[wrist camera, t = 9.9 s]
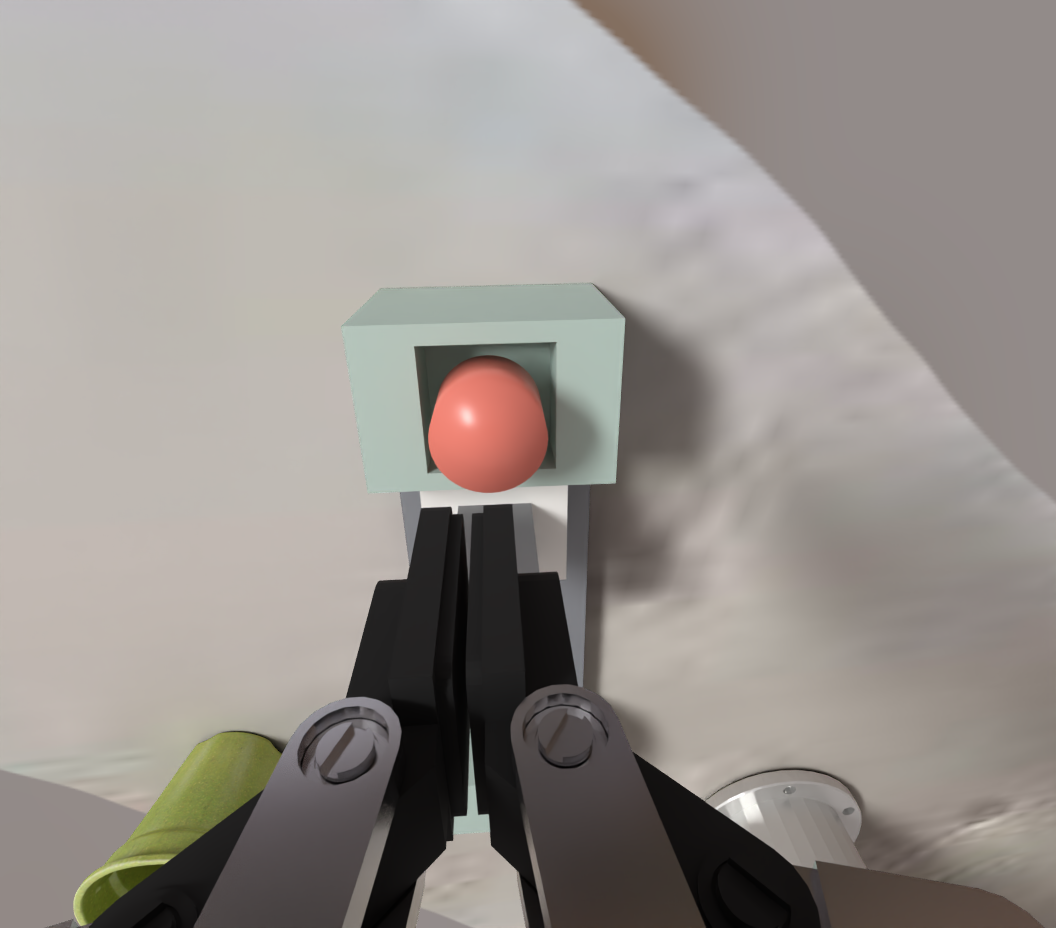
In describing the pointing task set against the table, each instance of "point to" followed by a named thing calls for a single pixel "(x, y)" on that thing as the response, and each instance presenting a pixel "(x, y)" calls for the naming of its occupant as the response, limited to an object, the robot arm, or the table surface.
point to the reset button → (488, 425)
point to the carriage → (518, 522)
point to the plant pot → (182, 814)
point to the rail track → (532, 342)
